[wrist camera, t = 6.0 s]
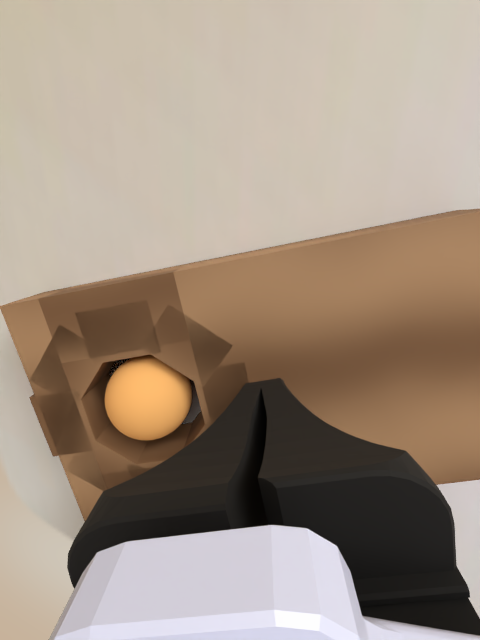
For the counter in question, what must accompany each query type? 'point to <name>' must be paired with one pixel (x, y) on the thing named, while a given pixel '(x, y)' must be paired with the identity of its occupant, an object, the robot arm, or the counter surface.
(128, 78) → the counter surface
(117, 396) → the ball
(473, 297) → the board
